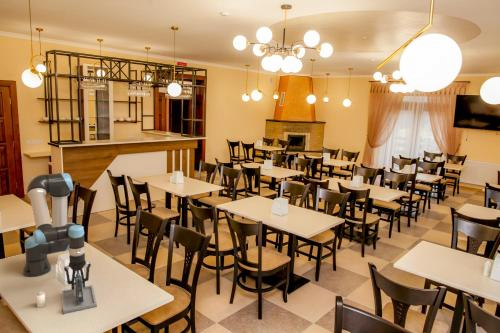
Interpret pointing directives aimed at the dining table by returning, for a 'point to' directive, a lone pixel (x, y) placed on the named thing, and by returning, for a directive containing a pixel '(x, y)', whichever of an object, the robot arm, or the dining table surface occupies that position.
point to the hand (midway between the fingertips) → (78, 293)
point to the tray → (71, 301)
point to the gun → (79, 287)
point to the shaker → (40, 299)
